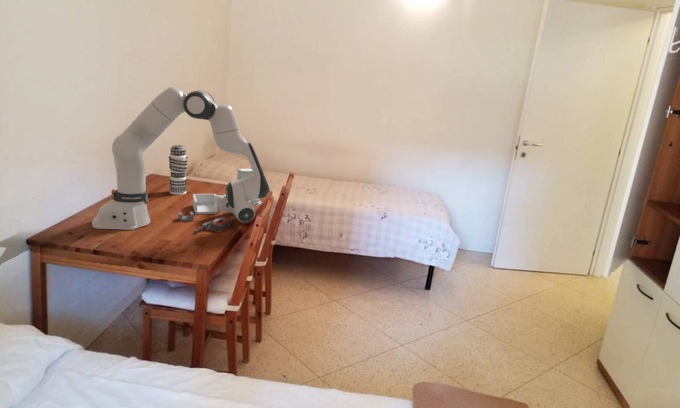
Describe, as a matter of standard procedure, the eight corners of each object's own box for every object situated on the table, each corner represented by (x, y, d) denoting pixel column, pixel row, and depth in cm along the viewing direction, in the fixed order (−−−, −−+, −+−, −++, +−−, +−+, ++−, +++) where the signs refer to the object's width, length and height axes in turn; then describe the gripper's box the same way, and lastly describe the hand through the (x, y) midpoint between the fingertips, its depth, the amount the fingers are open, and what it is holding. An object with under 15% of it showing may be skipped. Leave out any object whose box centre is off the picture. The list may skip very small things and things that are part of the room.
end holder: (194, 214, 222) (195, 201, 220) (192, 205, 233) (192, 193, 231) (219, 213, 226) (219, 201, 224) (215, 205, 237) (215, 193, 235)
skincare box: (240, 198, 253) (241, 171, 248) (235, 195, 257) (236, 168, 253) (254, 197, 258) (255, 170, 253) (249, 194, 262) (250, 167, 258)
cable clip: (179, 221, 210) (179, 214, 210) (178, 218, 214) (178, 211, 213) (193, 220, 213) (193, 214, 212) (192, 217, 216) (192, 211, 215)
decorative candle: (172, 189, 256) (172, 143, 249) (189, 191, 256) (190, 145, 249) (166, 193, 248) (165, 146, 240) (183, 195, 247) (183, 148, 240)
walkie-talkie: (216, 221, 217) (191, 234, 198) (216, 211, 215) (191, 224, 197) (233, 224, 214) (210, 238, 196) (234, 215, 213) (210, 228, 195)
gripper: (263, 197, 218) (257, 189, 230) (217, 197, 210) (213, 189, 222) (262, 210, 220) (256, 201, 232) (217, 211, 212) (213, 202, 224)
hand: (235, 195), depth 227 cm, fingers open, 8 cm apart
